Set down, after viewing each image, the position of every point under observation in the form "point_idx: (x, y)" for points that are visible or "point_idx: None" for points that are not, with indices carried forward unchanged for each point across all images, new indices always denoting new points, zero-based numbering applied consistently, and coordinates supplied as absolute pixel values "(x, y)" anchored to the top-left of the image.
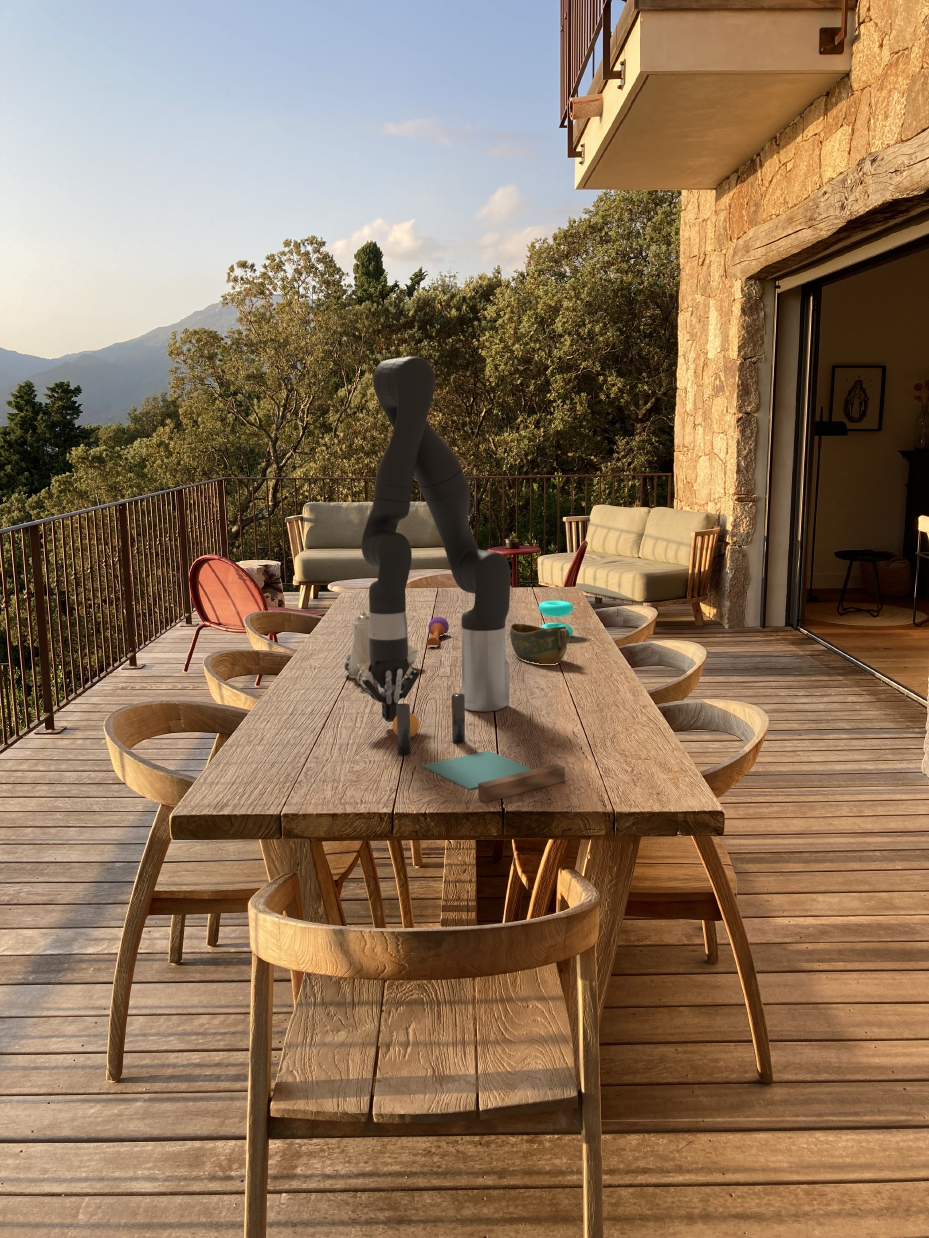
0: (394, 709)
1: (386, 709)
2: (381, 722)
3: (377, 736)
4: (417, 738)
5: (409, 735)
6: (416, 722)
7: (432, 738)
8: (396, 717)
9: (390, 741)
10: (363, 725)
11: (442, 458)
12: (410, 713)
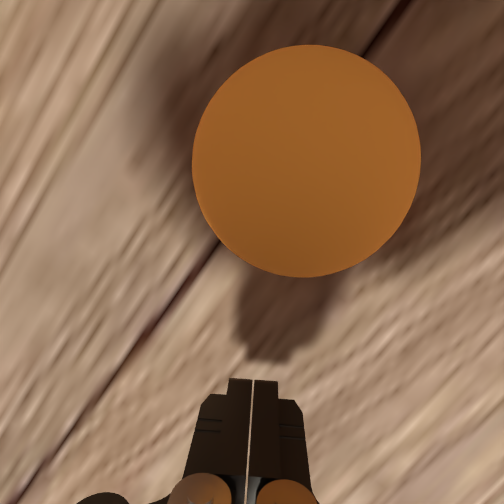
0: (233, 432)
1: (297, 456)
2: None
3: (406, 298)
4: None
5: None
6: (254, 62)
7: (159, 30)
8: (399, 203)
9: None
10: (335, 489)
11: None
12: (270, 143)
